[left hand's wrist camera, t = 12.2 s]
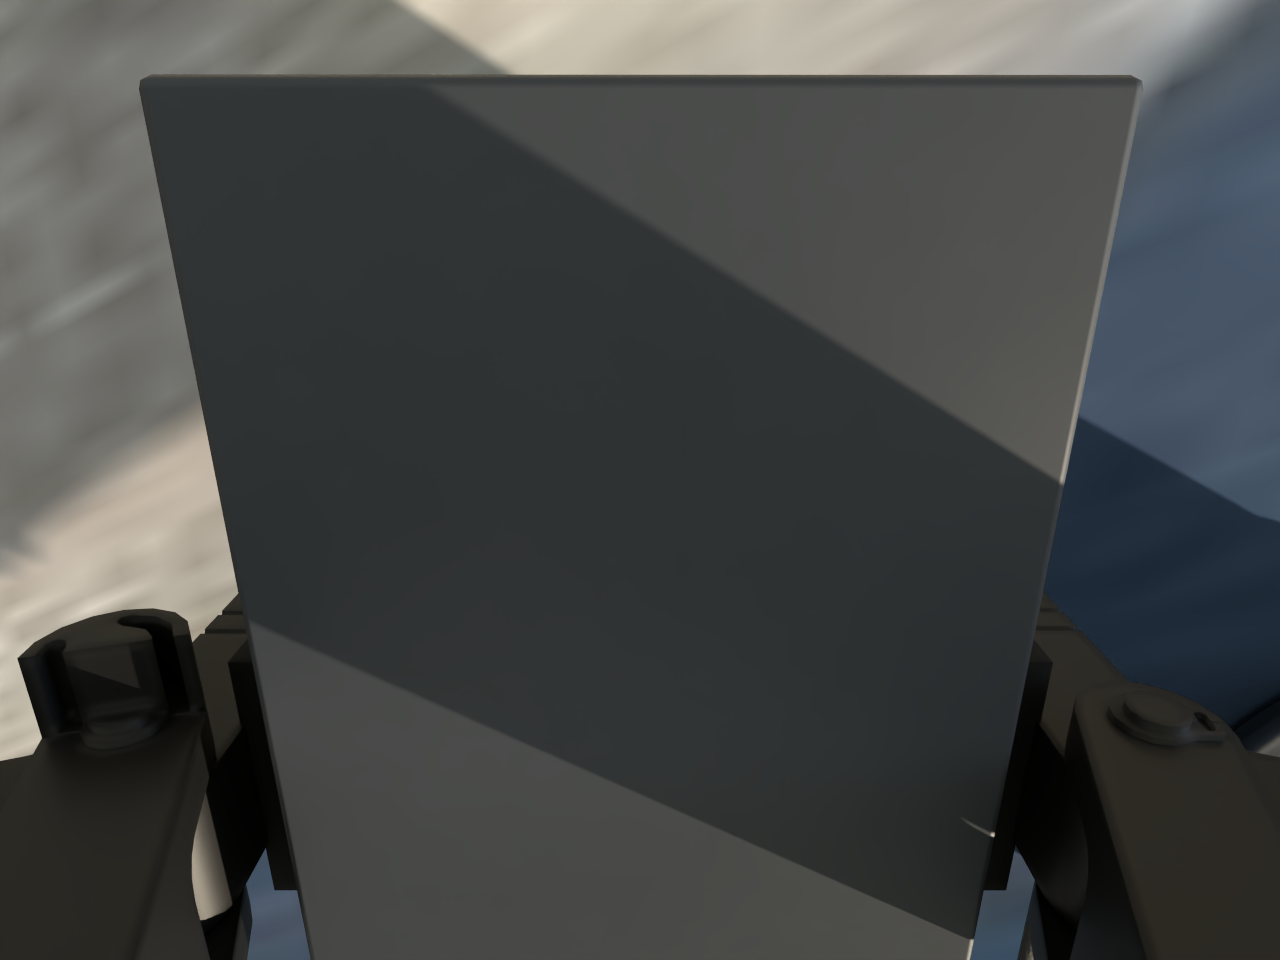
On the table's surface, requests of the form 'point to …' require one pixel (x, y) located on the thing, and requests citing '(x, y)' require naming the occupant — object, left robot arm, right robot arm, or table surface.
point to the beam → (640, 486)
